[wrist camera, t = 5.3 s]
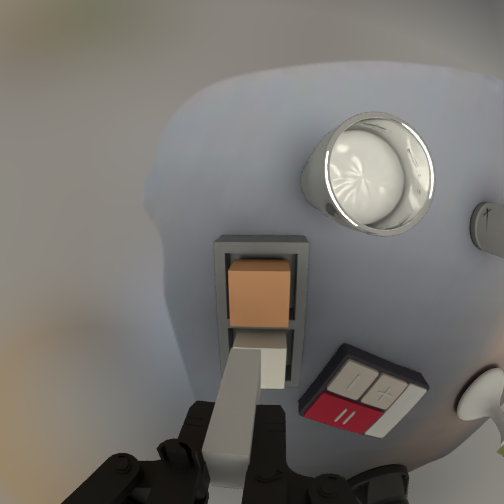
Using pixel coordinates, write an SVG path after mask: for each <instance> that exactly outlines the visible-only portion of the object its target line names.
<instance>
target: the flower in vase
mask: <svg viewBox="0 0 504 504" xmlns="http://www.w3.org/2000/svg"><path fill="white" fill-rule="evenodd" d="M503 388H504V372H503V370H502V369H500V368H493V369H490V370H488V371H486V372H484V373H483V374H481V375H480V376H479V377H478V378H477V379H476V380H475V381H474V382H473V383H472V384H471V385H470V386H469V387H468V388H467V390H466V391H465V392H464V394H463V395H462V397H461V399H460V401H459V403H458V406H457V416H458V417H459V418H460V419H462V420H473V419H477V418H481V417H485V416H488V417H490V418H491V419H492V420H493V421H494V422H495V423H496V425H497V427H498V429H499V431H500V434H501V448H500V449H499V450H498V451H497V453H499V454H501V455H502V456H503V457H504V412H503V410H502V409H501V407H500V399H501V395H502V392H503Z"/></svg>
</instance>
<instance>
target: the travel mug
mask: <svg viewBox="0 0 504 504" xmlns="http://www.w3.org/2000/svg"><path fill="white" fill-rule="evenodd" d="M470 231H471V237H472V240H473V242H474V244H475V246H476V247H477V248H479V249H480V250H483V251H486V252H489V253H491V254H494V255H497V256H499V257H502V258H504V205H503V204H495V203H487V202H484V203H481V204H480V205H479V206H477V208H476V209H475V211H474V213H473V215H472V218H471V225H470Z"/></svg>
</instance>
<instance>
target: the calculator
mask: <svg viewBox="0 0 504 504" xmlns="http://www.w3.org/2000/svg"><path fill="white" fill-rule="evenodd" d="M428 389H429V385H428V384H427V382H426V381H425V379H424V378H423V376H422V374H421V373H418V372H416V371H413V370H410V369H408V368H405V367H400V366H398V365H396V364H393V363H391V362H389V361H386V360H384V359H382V358H379V357H377V356H375V355H372V354H370V353H368V352H365V351H363V350H361V349H358V348H356V347H354V346H351V345H349V344H346V343H344V344H342V345H341V347H340V348H339V349H338V351H337V352H336V354H335V355H334V356H333V358H332V359H331V360H330V362H329V363H328V365H327V366H326V367H325V369H324V370H323V371H322V372H321V374H320V375H319V376H318V378H317V379H316V380H315V381H314V383H313V384H312V385H311V386H310V388H309V389H308V390H307V391H306V393H305V394H304V395H303V396H302V398H301V399H300V400H299V415H301V416H303V417H306V418H309V419H312V420H315V421H318V422H321V423H324V424H327V425H330V426H334V427H337V428H341V429H344V430H348V431H351V432H355V433H359V434H363V435H367V436H371V437H375V438H383V437H384V436H385V435H386V434H387V433H388V432H389V431H390V430H392V429H393V428H394V427H395V426H396V425H397V424H398V423H399V422H400V421H401V420H402V418H403V417H404V416H405V415H406V414H407V413H408V412H409V411H410V410H411V409H412V408H413V407H414V406H415V405H416V403H417V402H418V401H419V400H420V399H421V398H422V397H423V395H424V394H425V393H426V392H427V391H428Z"/></svg>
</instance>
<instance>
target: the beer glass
mask: <svg viewBox="0 0 504 504" xmlns="http://www.w3.org/2000/svg"><path fill="white" fill-rule="evenodd" d="M301 188H302V191H303V194H304V196H305V198H306V199H307V200H308V202H309V203H310V204H311V205H313V206H314V207H316V208H317V209H320V210H321V211H322V212H323V213H324V214H325V215H326V216H327V217H329V218H330V219H331V220H333V221H334V222H336V223H338V224H339V225H342V226H344V227H346V228H349V229H352V230H355V231H359V232H364V233H367V234H370V235H375V236H394V235H398V234H401V233H403V232H406V231H408V230H409V229H411V228H412V227H414V226H415V225H416V224H417V223H418V222H419V221H420V220H421V219H422V218H423V217H424V215H425V214H426V212H427V211H428V209H429V207H430V205H431V202H432V199H433V196H434V191H435V168H434V163H433V159H432V156H431V154H430V151H429V149H428V147H427V145H426V143H425V142H424V140H423V139H422V137H421V136H420V135H419V134H418V133H417V131H416V130H415V129H414V128H413V127H411V126H410V125H409V124H408V123H406V122H405V121H403V120H402V119H400V118H398V117H396V116H393V115H390V114H387V113H382V112H365V113H361V114H358V115H355V116H353V117H351V118H349V119H347V120H346V121H345V122H343V123H342V124H341V125H339V126H337V127H336V128H334V129H333V130H332V131H330V132H329V133H328V134H327V135H326V136H325V137H324V138H323V139H322V140H321V141H320V142H319V143H318V145H317V146H316V148H315V149H314V151H313V153H312V155H311V157H310V160H309V161H308V162H307V164H306V165H305V167H304V169H303V171H302V174H301Z"/></svg>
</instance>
